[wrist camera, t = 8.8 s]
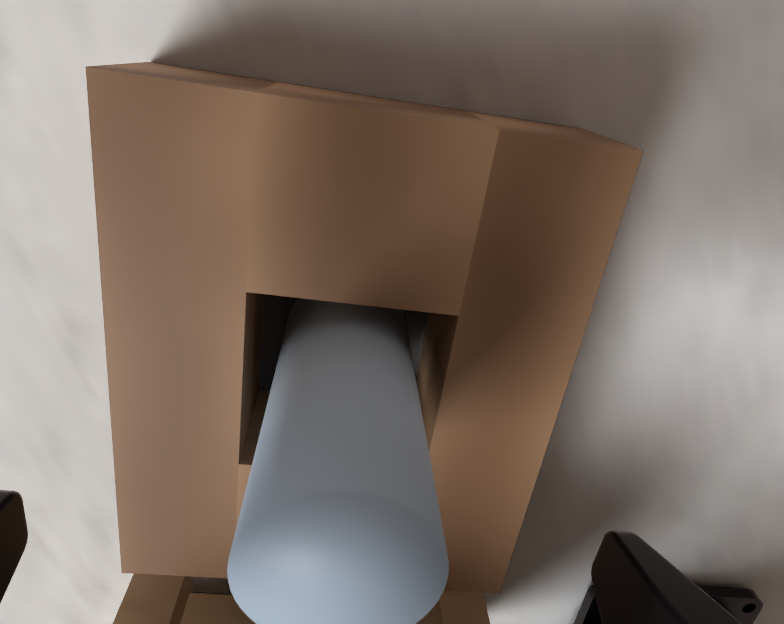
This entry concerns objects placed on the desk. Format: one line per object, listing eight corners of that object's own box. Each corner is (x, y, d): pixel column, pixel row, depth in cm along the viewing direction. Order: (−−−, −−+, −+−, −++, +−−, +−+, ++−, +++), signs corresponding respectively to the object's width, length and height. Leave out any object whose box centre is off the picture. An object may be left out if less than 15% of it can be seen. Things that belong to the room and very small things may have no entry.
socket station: (601, 131, 14) (1062, 290, 5) (459, 621, 21) (535, 1048, 12) (125, 58, 12) (-467, 88, 3) (149, 606, 20) (-22, 1070, 11)
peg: (414, 280, 15) (468, 499, 8) (396, 382, 16) (428, 651, 9) (292, 266, 15) (230, 482, 7) (284, 371, 16) (224, 642, 9)
